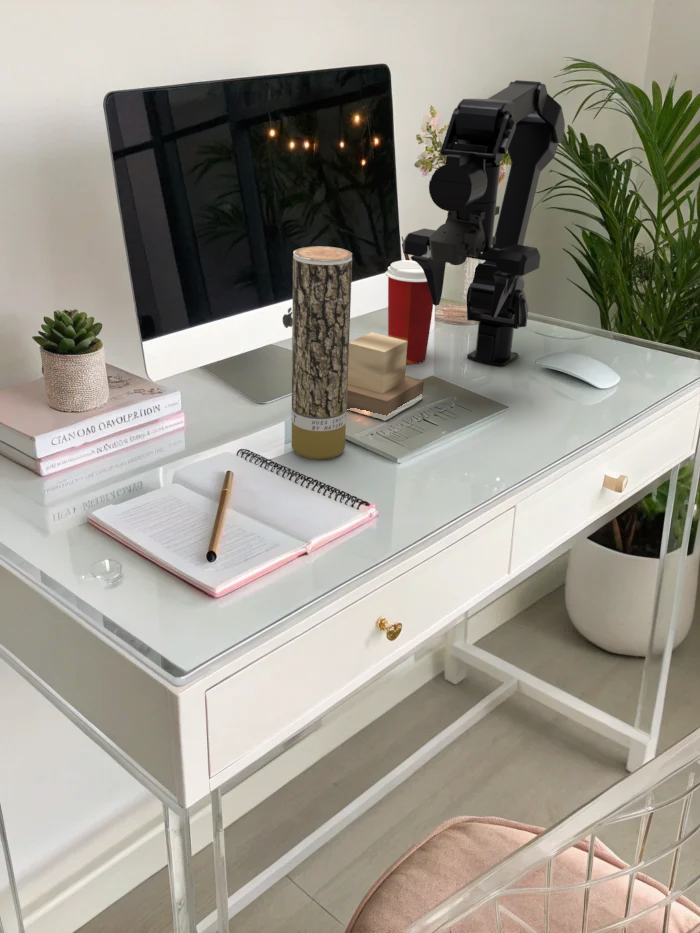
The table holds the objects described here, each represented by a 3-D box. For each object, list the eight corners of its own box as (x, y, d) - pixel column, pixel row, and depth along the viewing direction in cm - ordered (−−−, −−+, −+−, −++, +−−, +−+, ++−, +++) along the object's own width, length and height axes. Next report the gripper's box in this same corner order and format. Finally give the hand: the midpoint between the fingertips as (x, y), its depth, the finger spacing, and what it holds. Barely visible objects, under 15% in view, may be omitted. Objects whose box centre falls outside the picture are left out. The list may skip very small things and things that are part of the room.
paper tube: (352, 444, 118) (360, 250, 107) (334, 466, 112) (340, 263, 101) (303, 435, 120) (306, 243, 109) (282, 456, 114) (283, 256, 103)
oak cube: (369, 371, 134) (371, 332, 131) (404, 381, 131) (407, 341, 128) (346, 383, 129) (347, 342, 126) (382, 393, 126) (384, 352, 124)
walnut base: (364, 383, 137) (365, 364, 136) (422, 399, 133) (423, 380, 131) (325, 403, 130) (326, 384, 129) (385, 421, 125) (387, 401, 124)
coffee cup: (432, 351, 152) (440, 261, 145) (431, 368, 145) (439, 274, 138) (382, 347, 152) (387, 257, 146) (378, 364, 145) (383, 270, 138)
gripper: (385, 198, 123) (379, 311, 130) (513, 218, 114) (499, 338, 121) (426, 187, 131) (418, 294, 138) (548, 205, 122) (533, 319, 129)
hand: (464, 311), depth 132 cm, fingers open, 9 cm apart
